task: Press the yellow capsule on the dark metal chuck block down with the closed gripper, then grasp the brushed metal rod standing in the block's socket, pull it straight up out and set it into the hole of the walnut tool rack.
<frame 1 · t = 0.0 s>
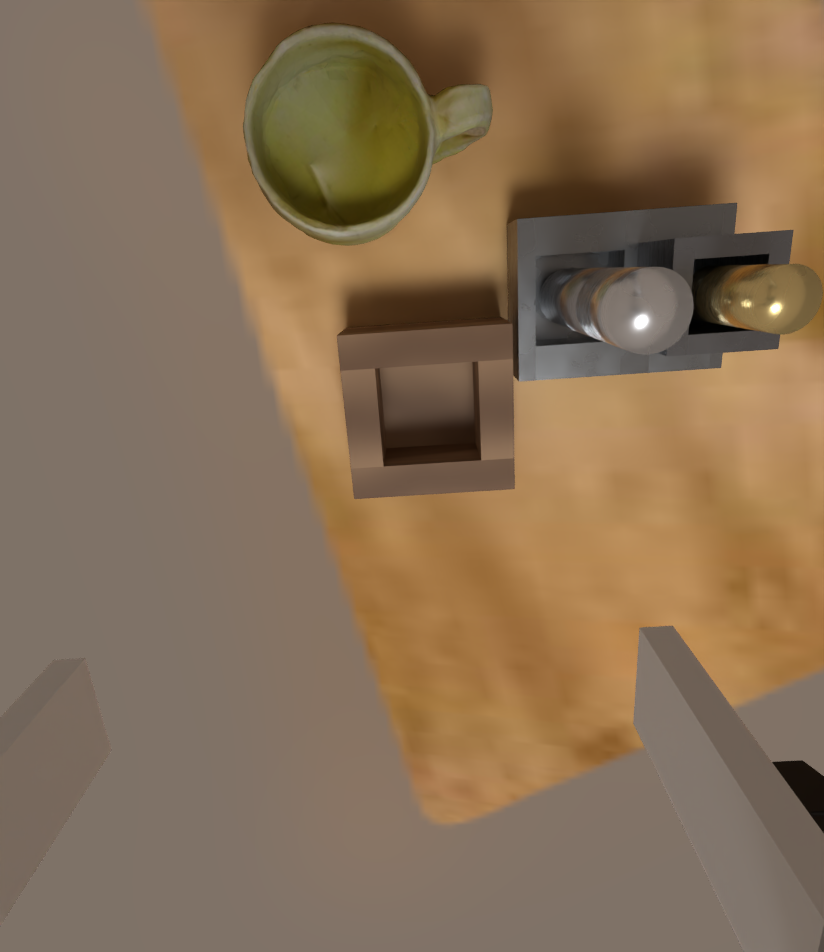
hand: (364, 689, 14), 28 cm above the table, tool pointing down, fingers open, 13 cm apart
yellow capsule: (743, 296, 28), point 10 cm above the table, slide at 0.0 cm
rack: (427, 398, 40), on the table
mug: (377, 161, 36), on the table
chuck block: (602, 293, 38), on the table
brushed metal rod: (566, 297, 37), point 1 cm above the table, touching chuck block
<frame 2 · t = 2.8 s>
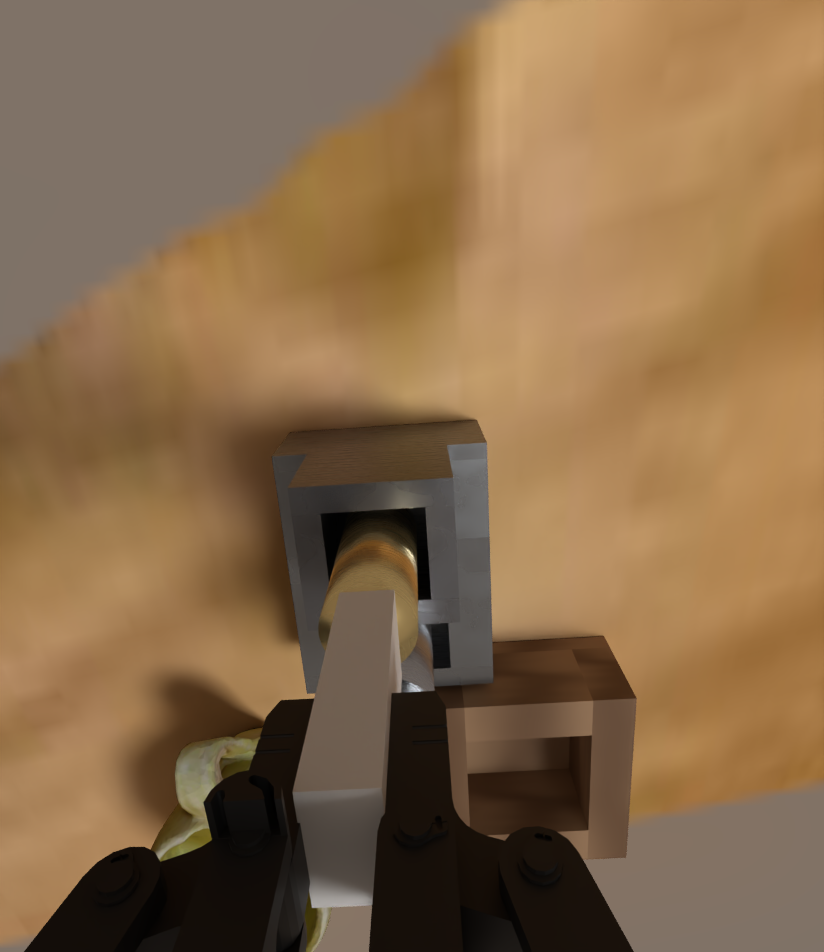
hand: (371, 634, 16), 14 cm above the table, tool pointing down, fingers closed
yellow capsule: (375, 571, 20), point 10 cm above the table, slide at 0.5 cm, touching gripper
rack: (512, 716, 34), on the table
mug: (267, 755, 35), on the table
chuck block: (392, 539, 31), on the table
brushed metal rod: (396, 592, 30), point 1 cm above the table, touching chuck block
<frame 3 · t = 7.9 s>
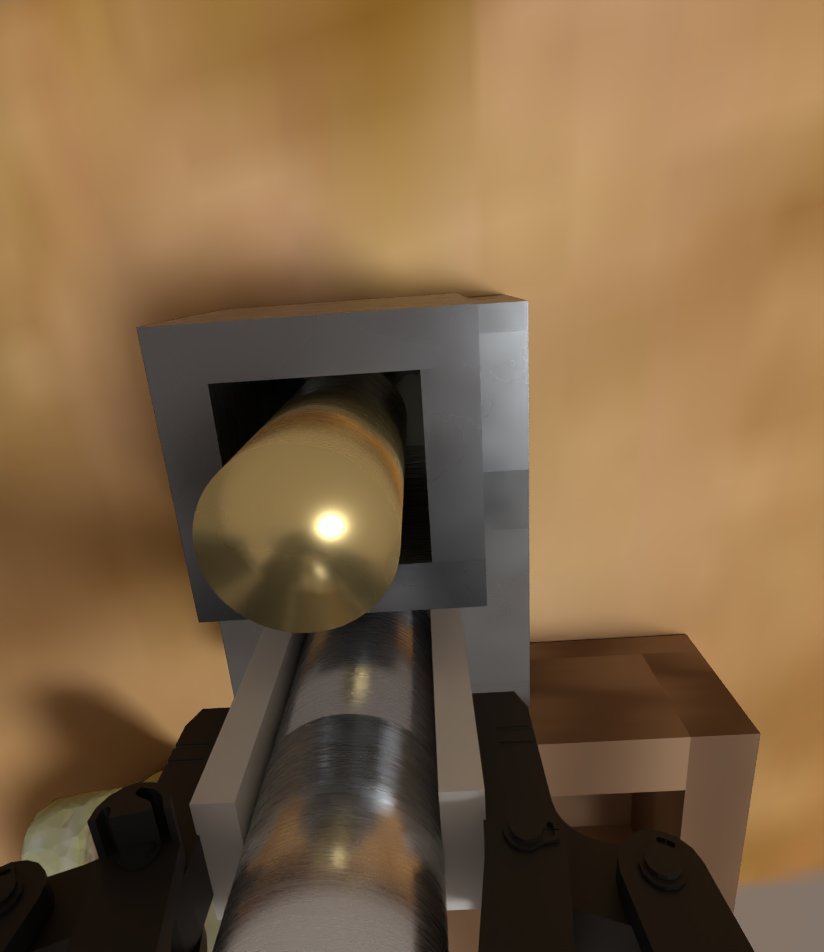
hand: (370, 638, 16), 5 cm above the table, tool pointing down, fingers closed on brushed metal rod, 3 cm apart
yellow capsule: (331, 464, 11), point 8 cm above the table, slide at 2.3 cm
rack: (549, 748, 24), on the table
mug: (201, 801, 25), on the table
chuck block: (374, 488, 20), on the table
brushed metal rod: (379, 567, 20), point 1 cm above the table, touching chuck block, gripper
when the fingers open (7 cm above the table, at t = 13.3 s): brushed metal rod drops 2 cm, resting on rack.
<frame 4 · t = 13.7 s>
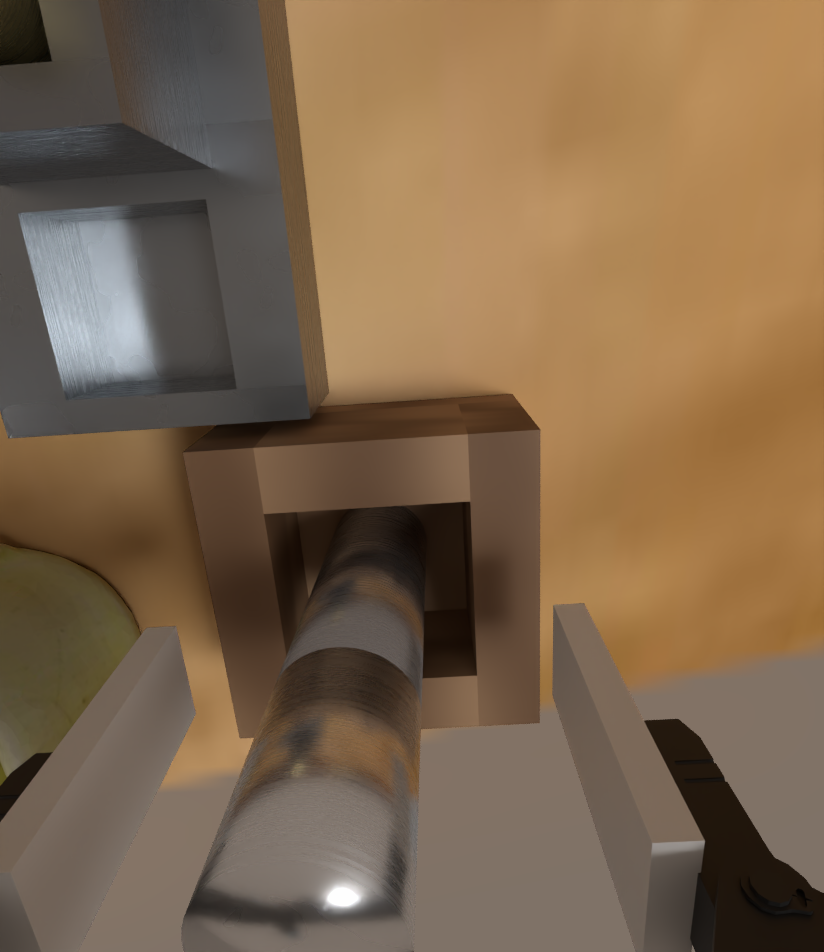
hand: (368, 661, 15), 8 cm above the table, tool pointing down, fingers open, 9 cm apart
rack: (383, 531, 23), on the table
mug: (31, 597, 24), on the table
chuck block: (170, 218, 19), on the table
brushed metal rod: (380, 542, 22), point 1 cm above the table, touching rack
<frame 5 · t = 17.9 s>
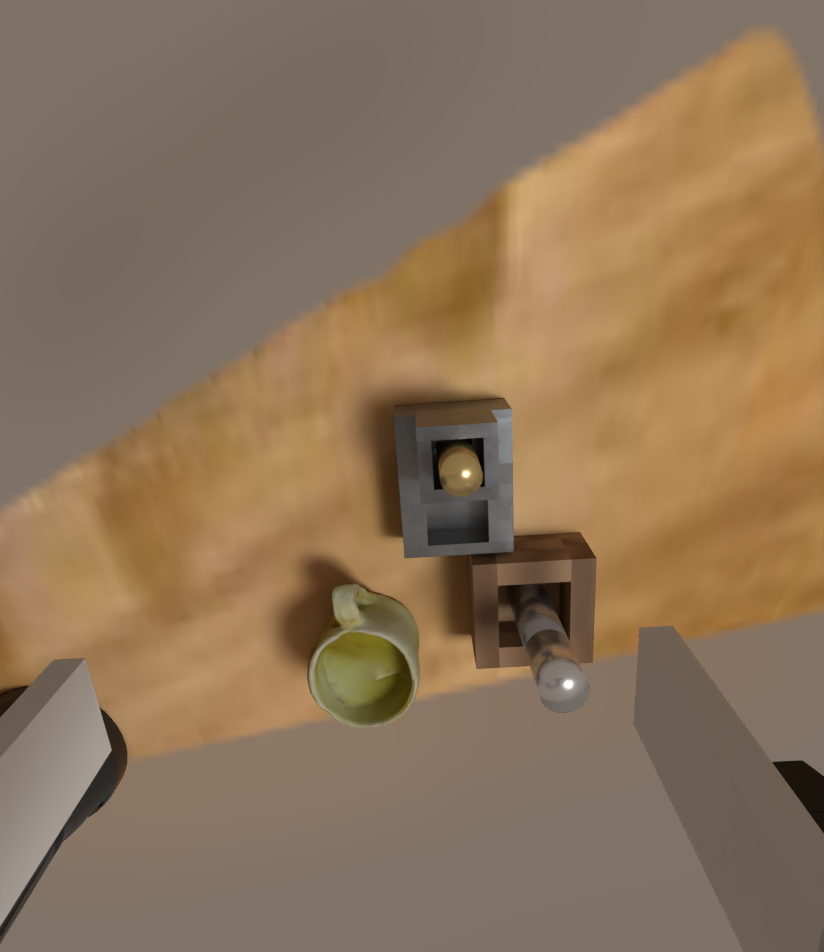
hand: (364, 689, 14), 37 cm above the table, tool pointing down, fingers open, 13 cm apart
yellow capsule: (457, 460, 42), point 8 cm above the table, slide at 2.3 cm
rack: (524, 585, 55), on the table
mug: (368, 613, 56), on the table
chuck block: (452, 470, 51), on the table
brushed metal rod: (525, 591, 54), point 1 cm above the table, touching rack
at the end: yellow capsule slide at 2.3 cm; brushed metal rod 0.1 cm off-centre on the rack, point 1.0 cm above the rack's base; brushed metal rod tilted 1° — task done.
